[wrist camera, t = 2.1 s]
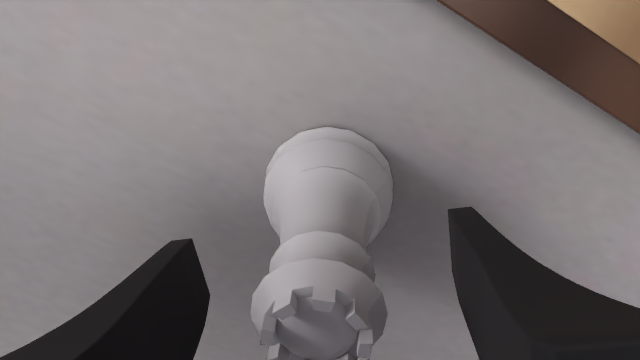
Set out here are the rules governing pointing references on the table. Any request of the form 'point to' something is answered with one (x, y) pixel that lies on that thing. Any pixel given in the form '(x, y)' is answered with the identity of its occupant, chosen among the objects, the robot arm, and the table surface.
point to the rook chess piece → (323, 247)
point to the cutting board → (571, 44)
